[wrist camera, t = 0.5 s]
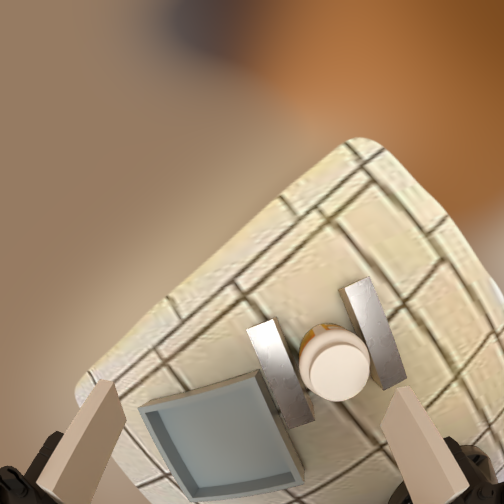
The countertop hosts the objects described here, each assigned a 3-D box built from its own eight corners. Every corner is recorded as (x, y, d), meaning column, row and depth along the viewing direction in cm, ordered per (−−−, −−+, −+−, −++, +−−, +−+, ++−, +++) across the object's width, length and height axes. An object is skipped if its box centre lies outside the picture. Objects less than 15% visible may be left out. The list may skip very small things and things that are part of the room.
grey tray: (304, 469, 23) (304, 483, 20) (198, 489, 24) (190, 502, 22) (259, 369, 26) (254, 376, 23) (150, 400, 27) (137, 407, 25)
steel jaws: (393, 368, 24) (407, 378, 20) (290, 413, 25) (289, 429, 21) (359, 279, 26) (369, 276, 22) (253, 325, 27) (246, 329, 23)
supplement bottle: (311, 384, 25) (316, 423, 16) (290, 336, 26) (285, 355, 17) (361, 361, 25) (390, 389, 15) (341, 313, 26) (363, 319, 17)
